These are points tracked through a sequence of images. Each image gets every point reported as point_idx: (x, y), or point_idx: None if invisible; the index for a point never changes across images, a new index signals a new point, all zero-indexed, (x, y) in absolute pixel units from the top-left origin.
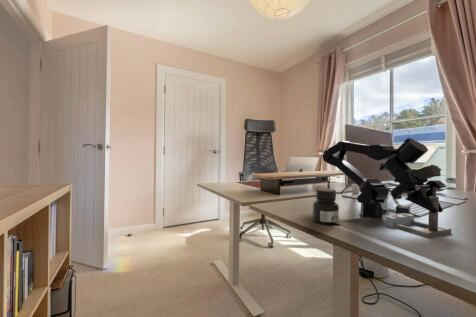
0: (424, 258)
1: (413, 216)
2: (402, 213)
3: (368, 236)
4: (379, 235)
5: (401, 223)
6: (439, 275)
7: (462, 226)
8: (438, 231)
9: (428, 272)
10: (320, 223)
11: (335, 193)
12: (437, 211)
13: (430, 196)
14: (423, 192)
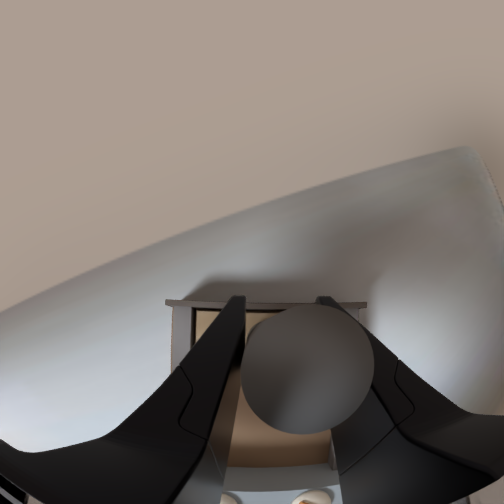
0: (470, 230)
1: None
2: None
3: (473, 404)
4: None
5: (283, 473)
6: (487, 181)
7: (7, 334)
8: (288, 304)
9: (495, 195)
10: None
11: None
12: (323, 296)
13: (342, 406)
14: (485, 425)
